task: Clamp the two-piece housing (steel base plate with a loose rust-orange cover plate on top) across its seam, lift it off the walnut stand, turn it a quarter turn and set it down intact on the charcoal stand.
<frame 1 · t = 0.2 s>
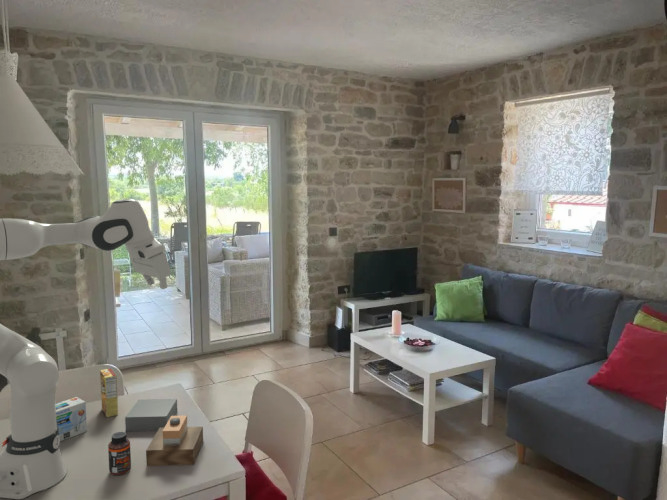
hand: (157, 286, 159), 51 cm above the table, tool tilted 20°, fingers open, 8 cm apart
candy box: (110, 412, 182), on the table
housing base: (175, 437, 154), point 5 cm above the table, touching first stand, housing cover
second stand: (152, 420, 175), on the table
supplement bottle: (120, 471, 144), on the table
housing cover: (175, 430, 153), point 7 cm above the table, touching housing base
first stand: (176, 452, 154), on the table
light bulb box: (67, 434, 166), on the table
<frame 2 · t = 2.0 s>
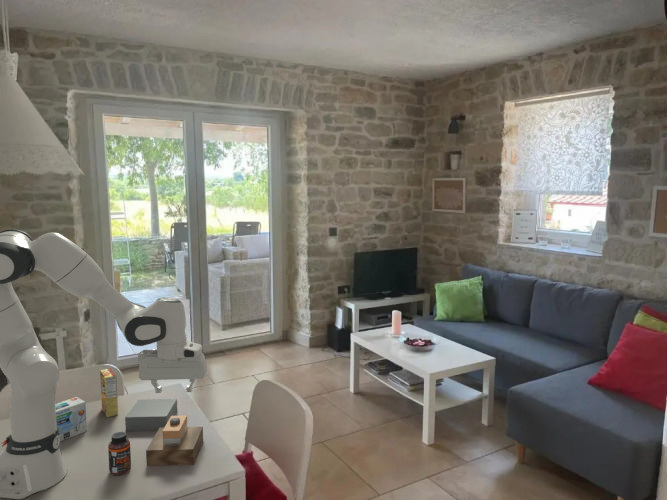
hand: (174, 391, 152), 20 cm above the table, tool pointing down, fingers open, 8 cm apart
nothing on the table moved.
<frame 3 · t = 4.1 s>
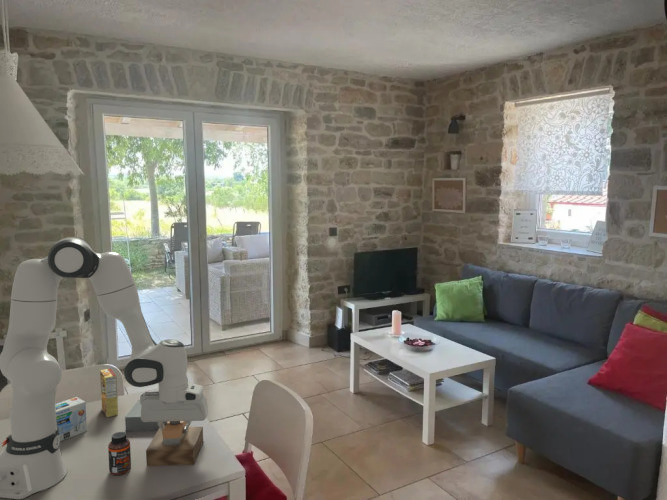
hand: (175, 433, 153), 7 cm above the table, tool pointing down, fingers closed on housing base, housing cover, 5 cm apart
housing base: (175, 437, 154), point 5 cm above the table, touching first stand, gripper
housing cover: (175, 430, 153), point 8 cm above the table, touching gripper
everything else where it was.
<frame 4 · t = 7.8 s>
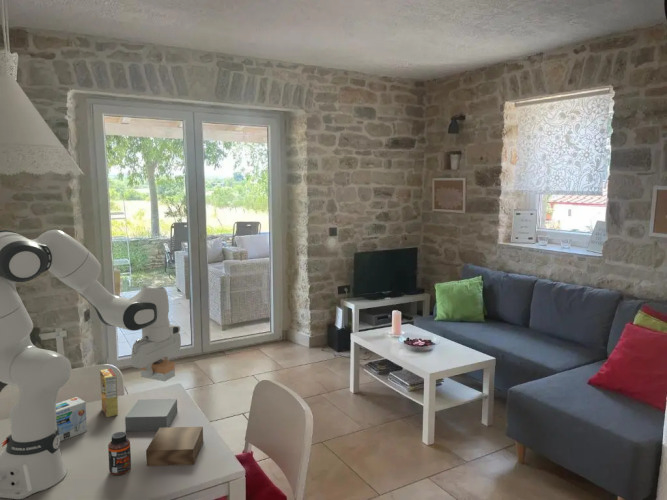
hand: (157, 371, 165), 21 cm above the table, tool pointing down, fingers closed on housing base, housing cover, 5 cm apart
housing base: (158, 376, 165), point 20 cm above the table, touching gripper
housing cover: (157, 369, 165), point 22 cm above the table, touching gripper
everything else where it was.
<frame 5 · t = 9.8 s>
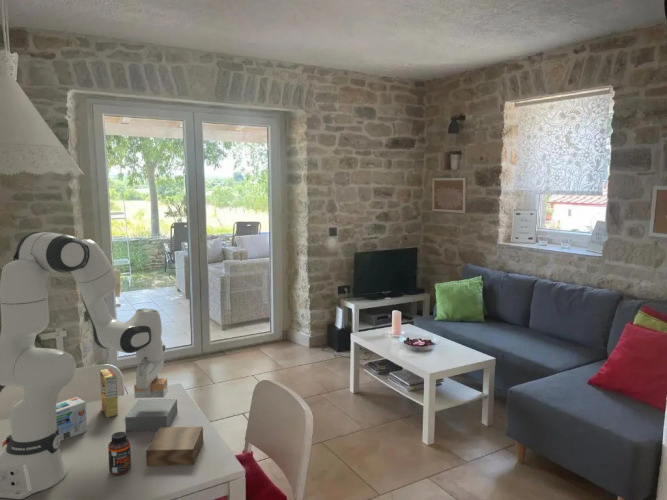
hand: (151, 390, 174), 11 cm above the table, tool pointing down, fingers closed on housing base, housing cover, 5 cm apart
housing base: (151, 394, 174), point 10 cm above the table, touching gripper
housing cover: (151, 388, 174), point 12 cm above the table, touching gripper
everything else where it was.
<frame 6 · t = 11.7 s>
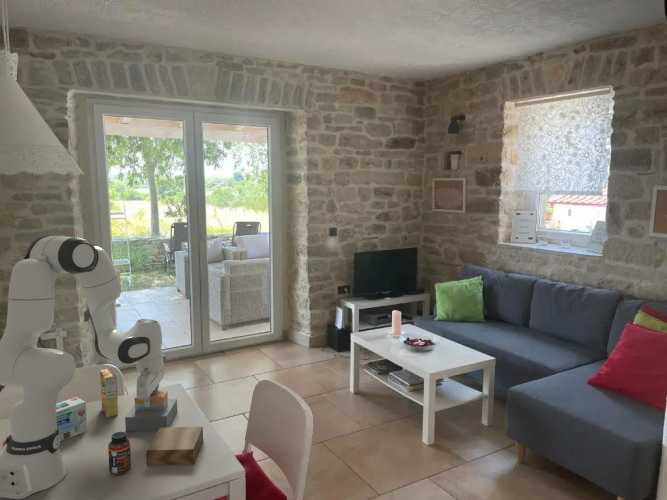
hand: (151, 400, 174), 8 cm above the table, tool pointing down, fingers open, 7 cm apart
housing base: (151, 407, 174), point 5 cm above the table, touching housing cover, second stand
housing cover: (151, 401, 174), point 7 cm above the table, touching housing base
everything else where it was.
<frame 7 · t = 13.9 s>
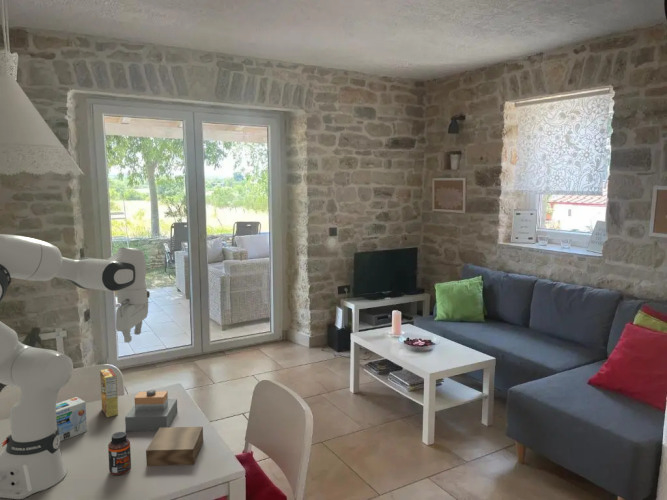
hand: (133, 337, 160), 34 cm above the table, tool pointing down, fingers open, 8 cm apart
nothing on the table moved.
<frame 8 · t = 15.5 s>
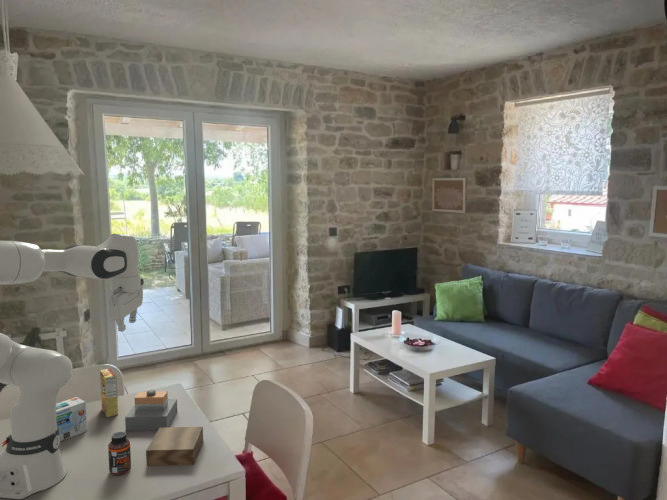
hand: (127, 326, 156), 39 cm above the table, tool pointing down, fingers open, 8 cm apart
nothing on the table moved.
at the end: housing base 0.1 cm off-centre on the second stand, point 5.0 cm above the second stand's base; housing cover 0.0 cm off-centre on the housing base, point 2.5 cm above the housing base's base; housing base tilted 0° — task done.
